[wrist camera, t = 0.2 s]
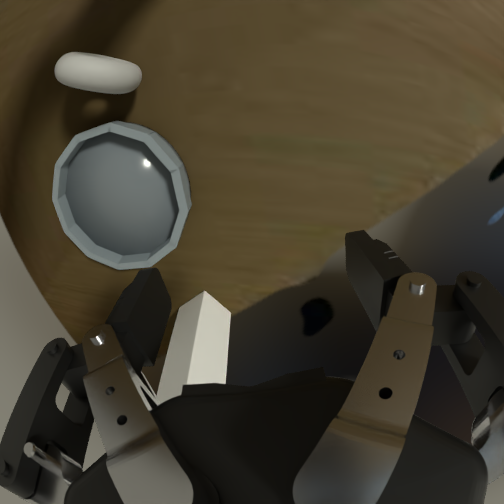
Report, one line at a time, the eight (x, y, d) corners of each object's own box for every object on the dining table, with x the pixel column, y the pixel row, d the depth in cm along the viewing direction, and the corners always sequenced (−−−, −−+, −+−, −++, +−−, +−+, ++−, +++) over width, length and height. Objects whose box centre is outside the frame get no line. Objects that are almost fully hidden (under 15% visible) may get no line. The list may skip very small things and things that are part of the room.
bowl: (78, 108, 25) (64, 111, 23) (213, 149, 29) (209, 154, 27) (62, 230, 35) (51, 240, 32) (169, 273, 39) (164, 287, 36)
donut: (83, 77, 23) (32, 80, 15) (93, 52, 22) (43, 47, 13) (147, 96, 26) (106, 100, 17) (159, 70, 24) (121, 62, 16)
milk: (205, 327, 45) (187, 451, 26) (178, 306, 42) (147, 435, 24) (231, 311, 43) (222, 446, 24) (204, 289, 40) (179, 431, 22)
